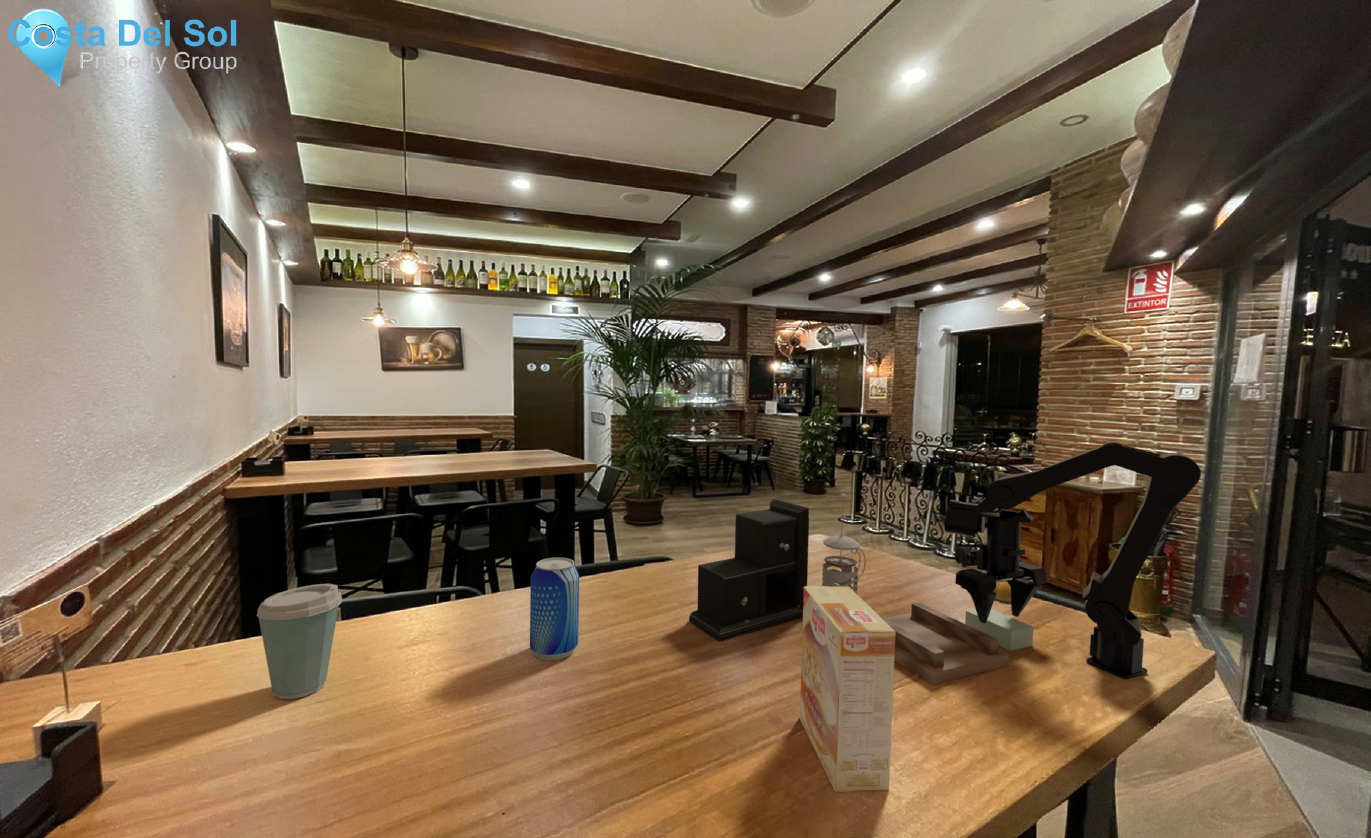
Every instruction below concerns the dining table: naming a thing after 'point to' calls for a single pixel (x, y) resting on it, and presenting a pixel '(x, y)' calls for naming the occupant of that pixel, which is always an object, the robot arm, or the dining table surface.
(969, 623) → the pale green block
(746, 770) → the dining table surface
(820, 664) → the coffeecake box
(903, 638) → the brown wooden stand
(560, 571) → the beer can
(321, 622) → the disposable coffee cup
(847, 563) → the french press
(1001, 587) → the bread roll
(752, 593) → the black drawer cabinet
